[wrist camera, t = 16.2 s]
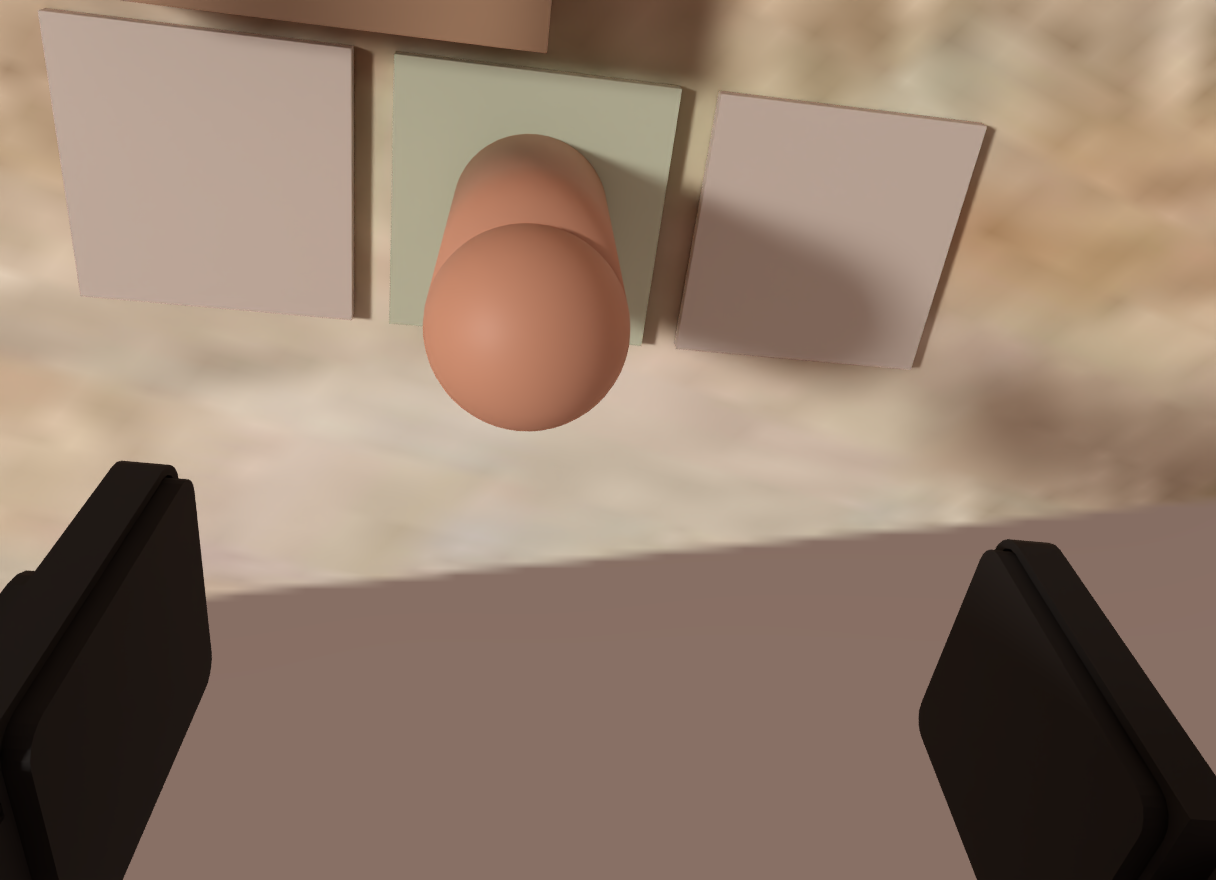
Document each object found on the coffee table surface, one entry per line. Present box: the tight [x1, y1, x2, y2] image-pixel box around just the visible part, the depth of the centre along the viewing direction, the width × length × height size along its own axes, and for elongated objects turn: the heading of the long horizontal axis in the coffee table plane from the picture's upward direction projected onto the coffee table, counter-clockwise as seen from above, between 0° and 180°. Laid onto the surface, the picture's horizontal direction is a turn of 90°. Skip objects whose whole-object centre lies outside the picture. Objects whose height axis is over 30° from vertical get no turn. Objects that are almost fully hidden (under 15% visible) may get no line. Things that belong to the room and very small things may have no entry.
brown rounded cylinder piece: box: [423, 134, 630, 431], centre depth 21 cm, size 4×4×10 cm
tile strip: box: [38, 8, 987, 370], centre depth 26 cm, size 23×7×1 cm, turn 83°
